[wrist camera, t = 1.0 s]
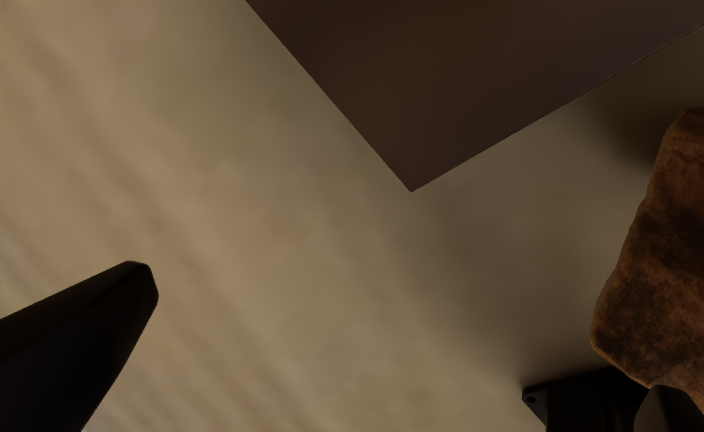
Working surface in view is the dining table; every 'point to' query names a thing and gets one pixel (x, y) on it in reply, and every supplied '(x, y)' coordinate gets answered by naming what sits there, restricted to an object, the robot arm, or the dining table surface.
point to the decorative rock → (661, 273)
